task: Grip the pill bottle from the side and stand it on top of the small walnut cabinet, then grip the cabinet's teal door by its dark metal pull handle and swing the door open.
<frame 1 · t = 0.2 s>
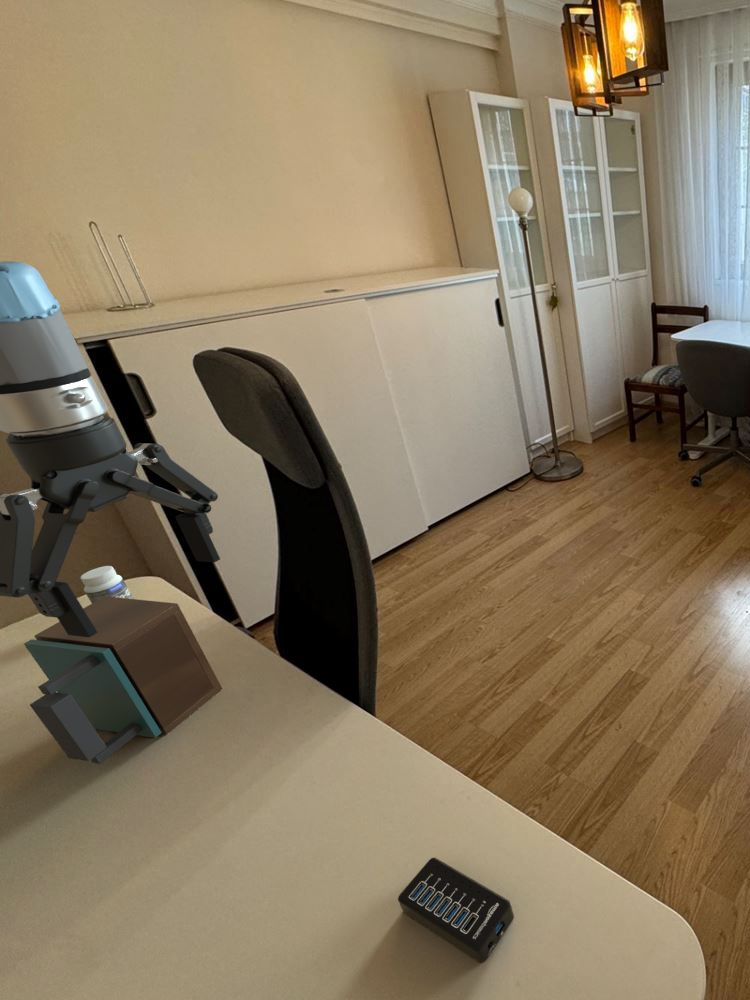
hand: (151, 593, 65), 24 cm above the table, tool pointing down, fingers open, 13 cm apart
pill bottle: (119, 611, 100), on the table
multiport hub: (458, 914, 56), on the table
cabinet: (160, 705, 80), on the table
door: (67, 708, 70), point 8 cm above the table, hinge at 0.0°
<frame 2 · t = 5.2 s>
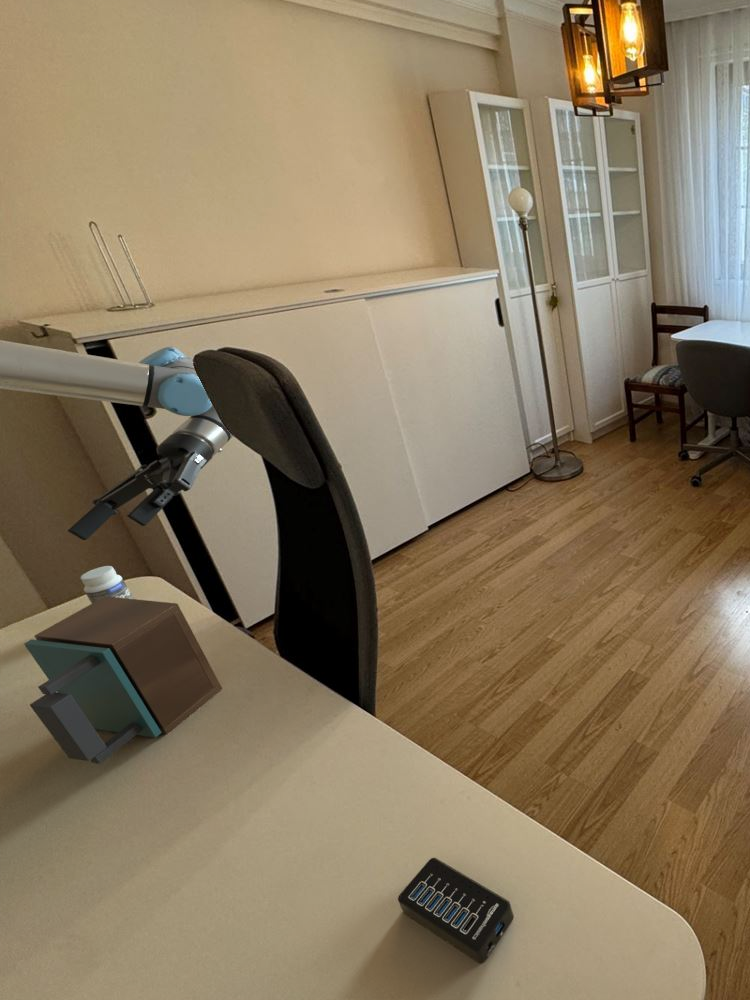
hand: (105, 528, 95), 16 cm above the table, tool tilted 70°, fingers open, 13 cm apart
nothing on the table moved.
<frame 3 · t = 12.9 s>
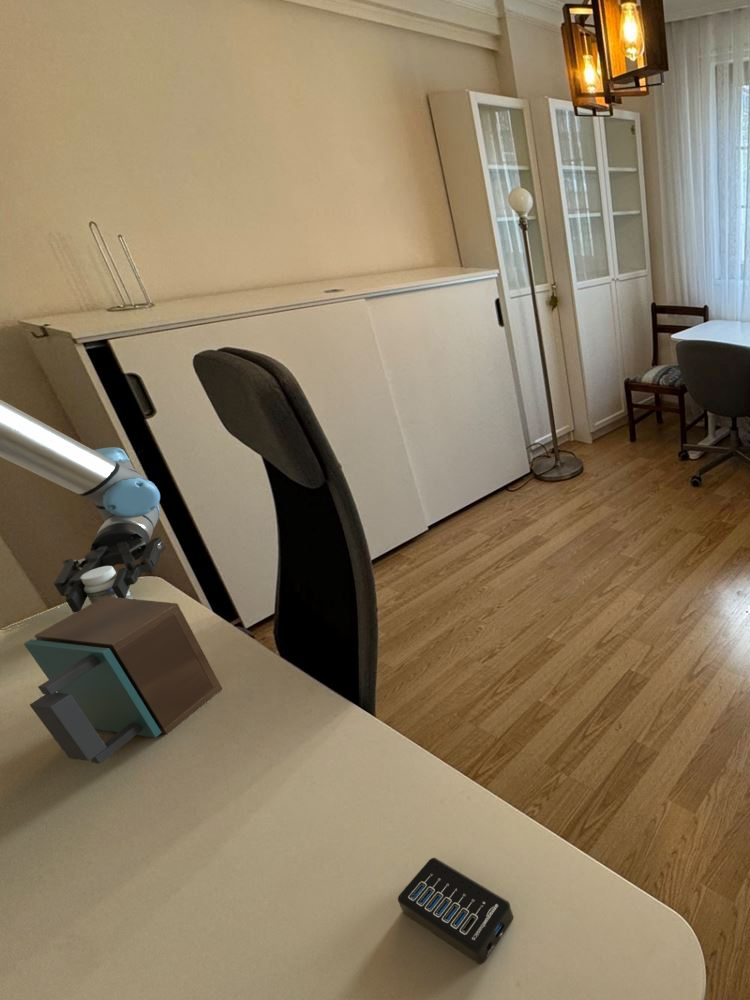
hand: (96, 598, 93), 6 cm above the table, tool horizontal, fingers closed on pill bottle, 5 cm apart
pill bottle: (119, 611, 100), on the table, touching gripper
everything else where it was.
when the fingers open (22 cm above the table, at t = 24.2 s): pill bottle stays where it is, resting on cabinet.
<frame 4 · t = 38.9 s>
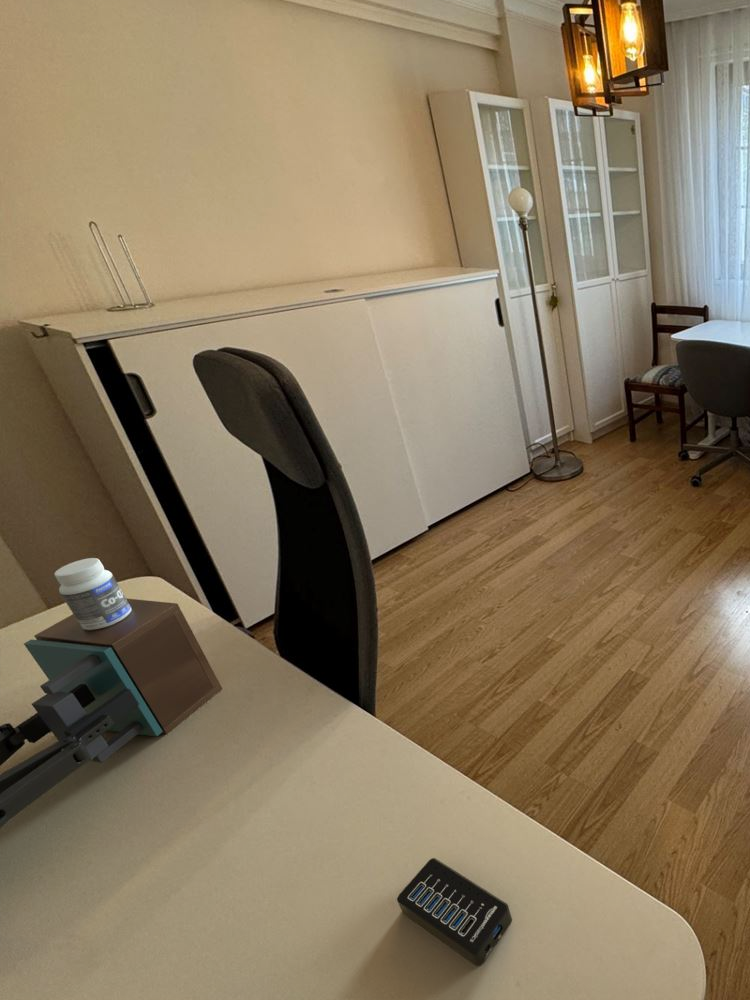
hand: (109, 694, 71), 8 cm above the table, tool horizontal, fingers open, 6 cm apart
pill bottle: (108, 620, 74), point 16 cm above the table, touching cabinet
door: (68, 708, 70), point 8 cm above the table, hinge at -0.8°, touching gripper
everything else where it was.
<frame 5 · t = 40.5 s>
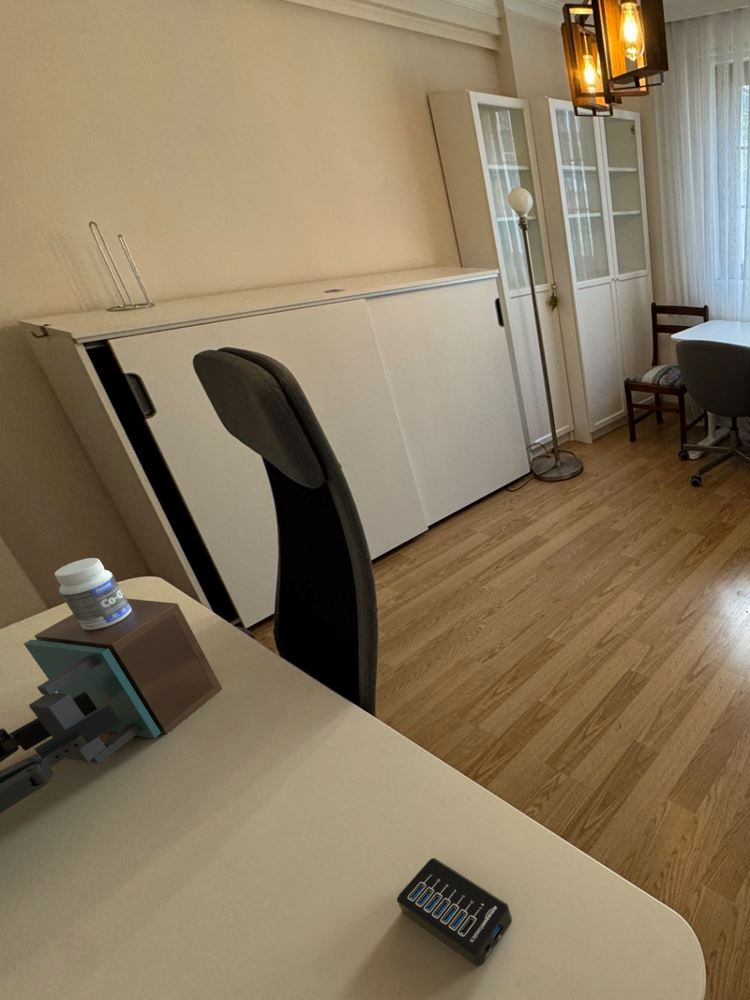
hand: (102, 707, 70), 8 cm above the table, tool horizontal, fingers open, 5 cm apart
door: (66, 708, 70), point 8 cm above the table, hinge at 0.4°, touching gripper
everything else where it was.
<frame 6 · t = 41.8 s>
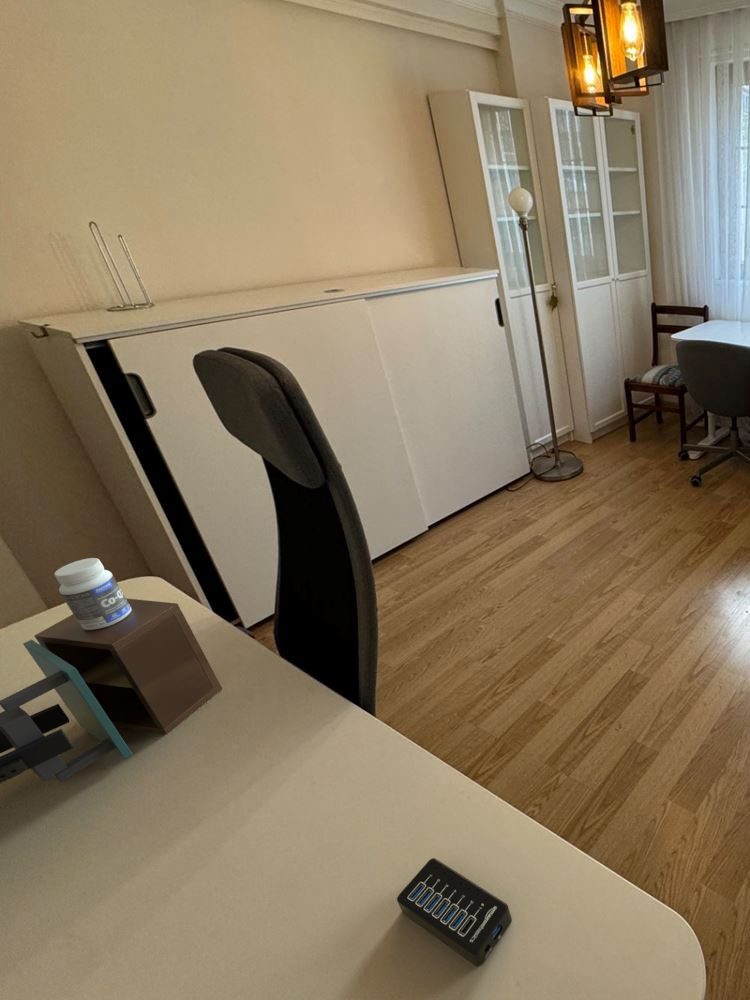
hand: (65, 725, 67), 8 cm above the table, tool horizontal, fingers open, 5 cm apart
door: (45, 717, 68), point 8 cm above the table, hinge at 16.0°, touching gripper
everything else where it was.
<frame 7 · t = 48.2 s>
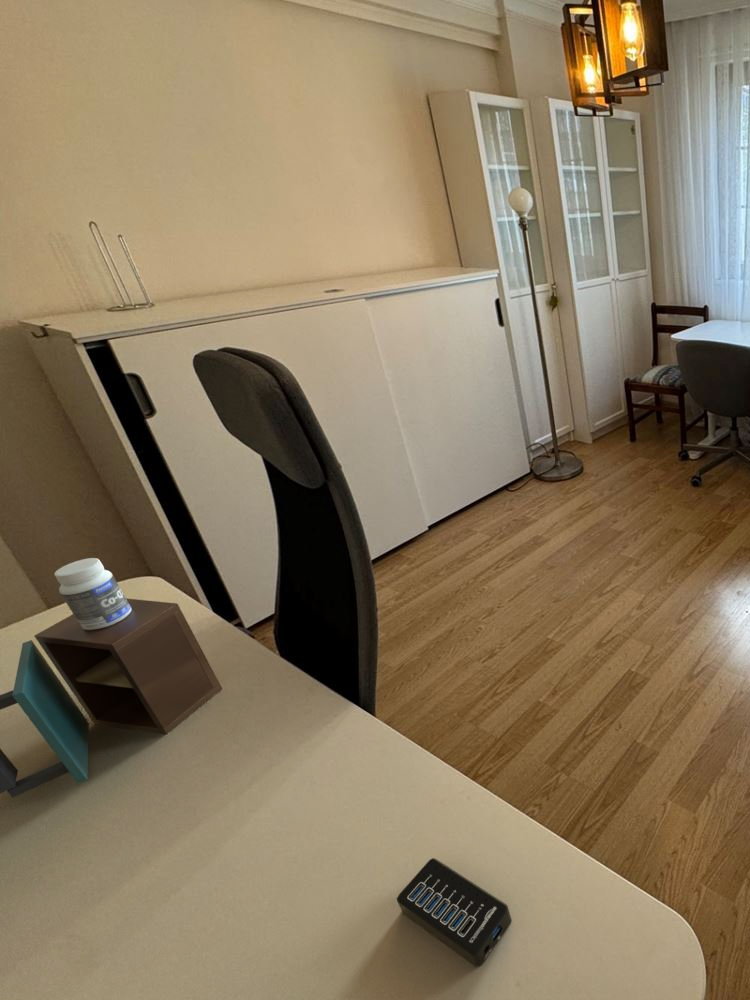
door: (18, 725, 67), point 8 cm above the table, hinge at 36.1°
everything else where it was.
at the end: pill bottle inside the target area on the cabinet (0.0 cm from its centre), point 15.8 cm above the cabinet's base; pill bottle tilted 0°; door at +36° (first picture: +0°) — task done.
